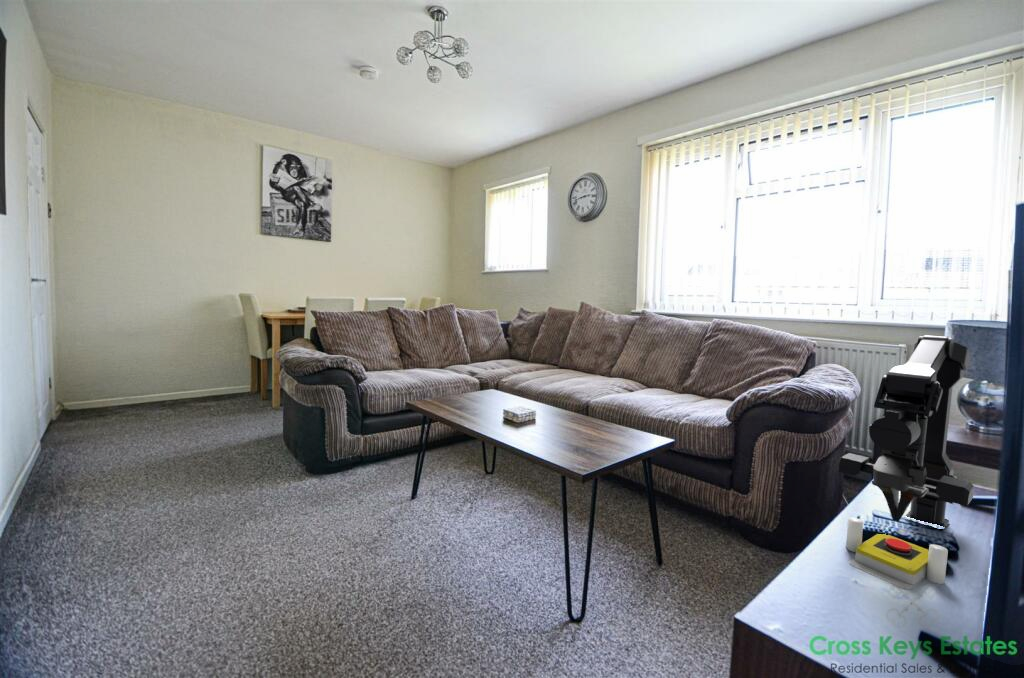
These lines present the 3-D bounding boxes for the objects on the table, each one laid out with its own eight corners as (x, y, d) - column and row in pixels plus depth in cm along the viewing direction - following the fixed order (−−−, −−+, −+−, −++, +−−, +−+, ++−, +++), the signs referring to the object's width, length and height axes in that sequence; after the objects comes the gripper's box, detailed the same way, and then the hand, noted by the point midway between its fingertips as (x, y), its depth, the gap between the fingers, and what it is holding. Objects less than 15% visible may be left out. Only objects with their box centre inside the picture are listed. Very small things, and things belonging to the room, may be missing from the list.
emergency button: (943, 545, 86) (910, 570, 78) (940, 567, 86) (908, 594, 78) (883, 523, 94) (848, 544, 86) (881, 543, 94) (846, 566, 86)
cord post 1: (848, 544, 93) (850, 516, 92) (862, 549, 91) (864, 520, 90) (844, 548, 91) (846, 519, 91) (858, 553, 89) (861, 524, 89)
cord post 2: (928, 574, 83) (931, 542, 83) (946, 580, 81) (949, 548, 81) (924, 579, 82) (927, 547, 81) (942, 585, 80) (946, 553, 79)
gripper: (829, 434, 86) (822, 513, 88) (966, 464, 72) (956, 558, 73) (849, 424, 93) (843, 498, 95) (979, 450, 78) (969, 536, 80)
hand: (896, 520), depth 85 cm, fingers closed
